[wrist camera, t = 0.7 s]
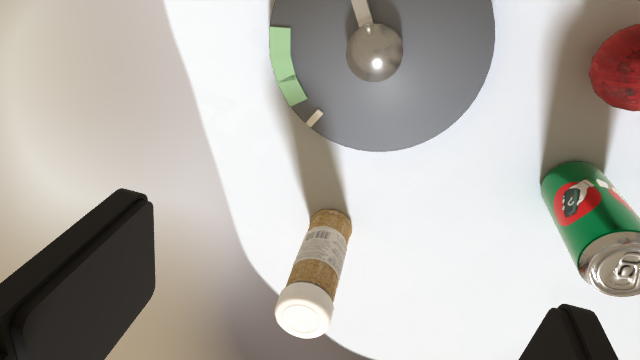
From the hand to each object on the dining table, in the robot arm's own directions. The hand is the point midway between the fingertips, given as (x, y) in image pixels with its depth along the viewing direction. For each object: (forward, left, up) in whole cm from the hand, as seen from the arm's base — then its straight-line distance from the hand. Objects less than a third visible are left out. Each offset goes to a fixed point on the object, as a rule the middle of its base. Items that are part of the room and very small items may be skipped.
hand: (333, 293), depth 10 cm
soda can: (+2, +20, -30) cm, 36 cm away
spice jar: (+19, +5, -30) cm, 36 cm away
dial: (+1, -1, -30) cm, 30 cm away
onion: (-8, +15, -30) cm, 34 cm away
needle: (-1, -4, -28) cm, 28 cm away
